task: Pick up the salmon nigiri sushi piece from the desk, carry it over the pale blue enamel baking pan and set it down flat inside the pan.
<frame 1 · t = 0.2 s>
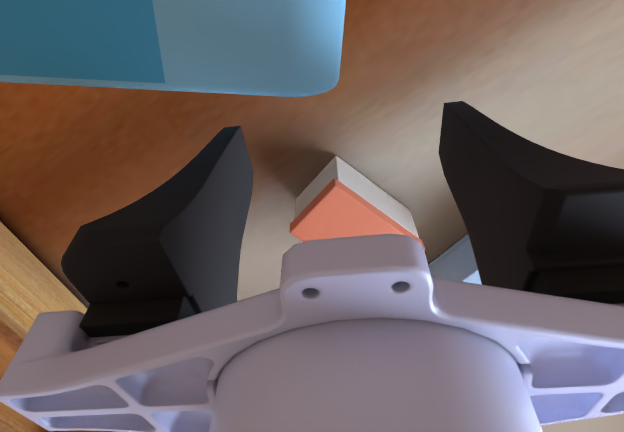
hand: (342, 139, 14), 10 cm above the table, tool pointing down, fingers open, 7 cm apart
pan: (520, 295, 34), on the table
tray: (20, 317, 36), on the table
sushi: (353, 204, 29), on the table
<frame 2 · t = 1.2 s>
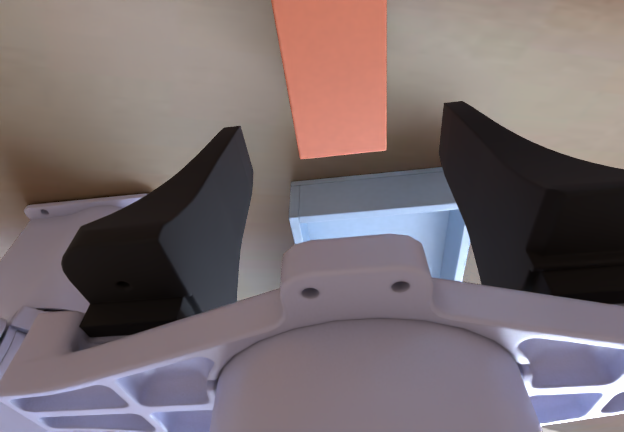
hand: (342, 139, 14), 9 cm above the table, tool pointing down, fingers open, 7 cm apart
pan: (377, 258, 32), on the table
sushi: (333, 48, 21), on the table
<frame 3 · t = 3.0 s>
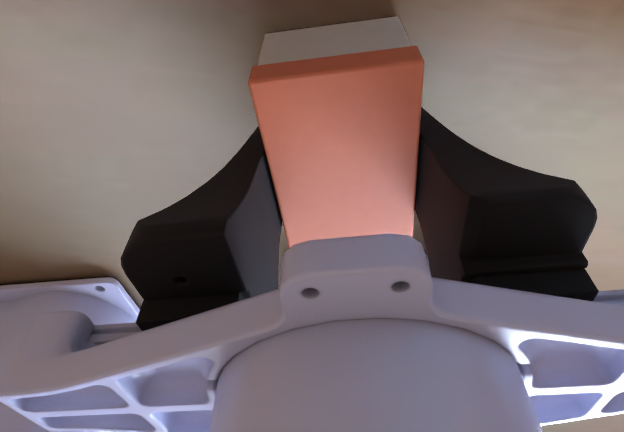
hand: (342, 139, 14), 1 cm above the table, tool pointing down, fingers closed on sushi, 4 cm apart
sushi: (339, 119, 15), on the table, touching gripper
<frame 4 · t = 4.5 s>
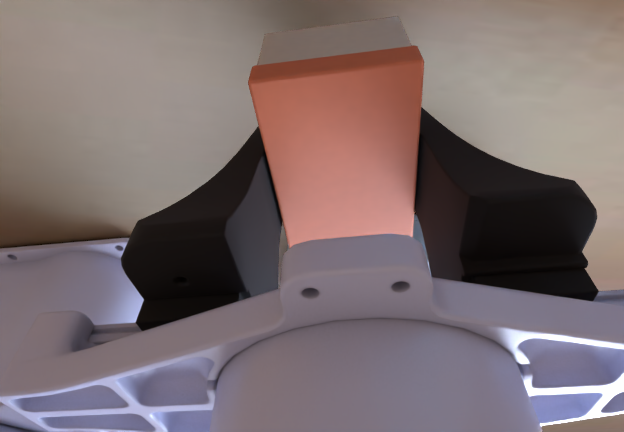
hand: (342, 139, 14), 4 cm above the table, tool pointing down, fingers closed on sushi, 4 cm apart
sushi: (339, 119, 15), point 3 cm above the table, touching gripper
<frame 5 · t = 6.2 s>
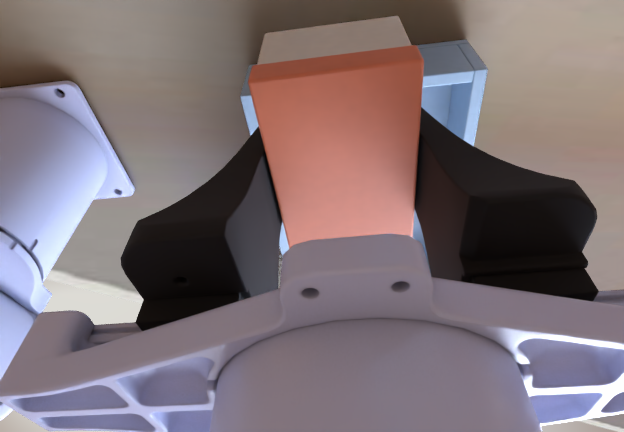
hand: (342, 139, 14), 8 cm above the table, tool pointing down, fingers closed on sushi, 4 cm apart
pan: (361, 181, 27), on the table
sushi: (339, 118, 15), point 7 cm above the table, touching gripper
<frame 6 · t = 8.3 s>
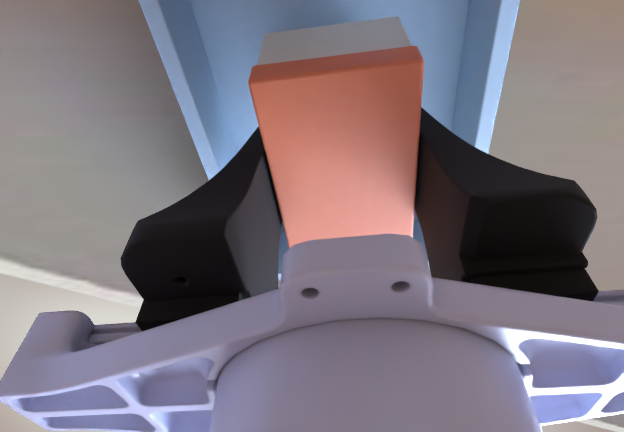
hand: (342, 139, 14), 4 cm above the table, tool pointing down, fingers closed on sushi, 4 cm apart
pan: (336, 87, 17), on the table
sushi: (339, 119, 15), point 3 cm above the table, touching gripper
when the fingers open (2 cm above the table, at t = 9.5 s): sushi stays where it is, resting on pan.
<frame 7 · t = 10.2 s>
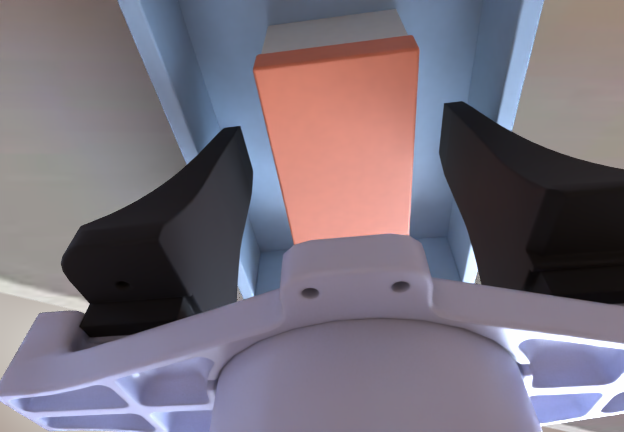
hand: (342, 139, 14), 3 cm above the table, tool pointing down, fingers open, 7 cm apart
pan: (339, 103, 16), on the table
sushi: (339, 109, 16), resting on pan
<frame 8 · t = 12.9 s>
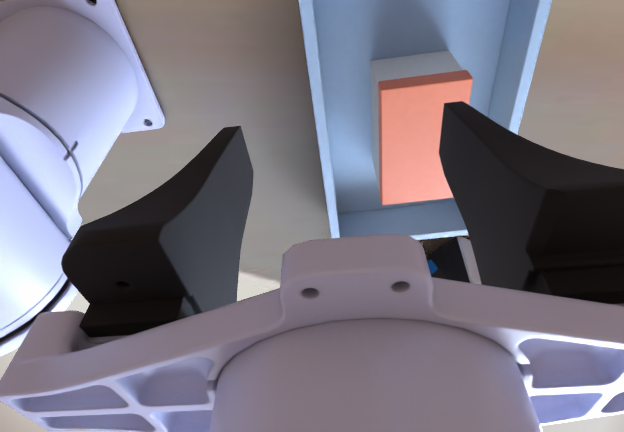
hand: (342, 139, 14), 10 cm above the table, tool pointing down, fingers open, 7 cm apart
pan: (405, 107, 25), on the table
sushi: (407, 111, 25), resting on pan
padlock: (444, 262, 36), on the table
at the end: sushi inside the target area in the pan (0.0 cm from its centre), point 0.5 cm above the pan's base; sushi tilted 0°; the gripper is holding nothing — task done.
